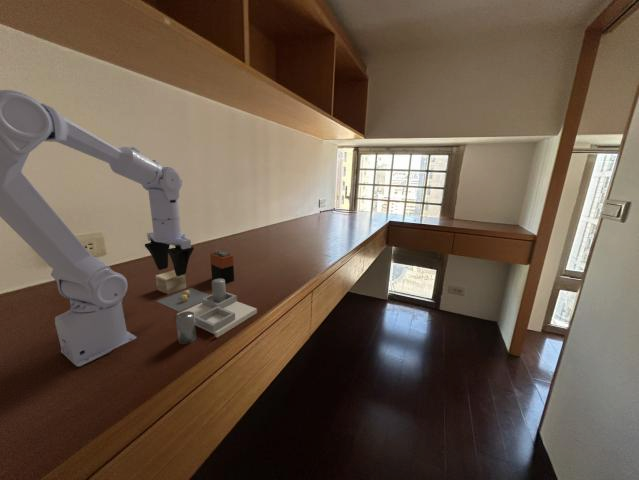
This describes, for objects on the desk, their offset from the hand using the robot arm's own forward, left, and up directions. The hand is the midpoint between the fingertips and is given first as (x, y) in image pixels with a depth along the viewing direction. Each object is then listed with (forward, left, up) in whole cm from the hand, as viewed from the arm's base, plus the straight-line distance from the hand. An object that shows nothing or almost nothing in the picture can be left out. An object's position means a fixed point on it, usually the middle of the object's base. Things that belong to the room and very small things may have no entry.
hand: (171, 271), depth 64 cm
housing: (+5, +9, -9) cm, 14 cm away
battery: (+17, +3, -10) cm, 20 cm away
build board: (+2, -13, -9) cm, 17 cm away
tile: (+3, 0, -9) cm, 10 cm away
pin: (-8, -16, -9) cm, 20 cm away
